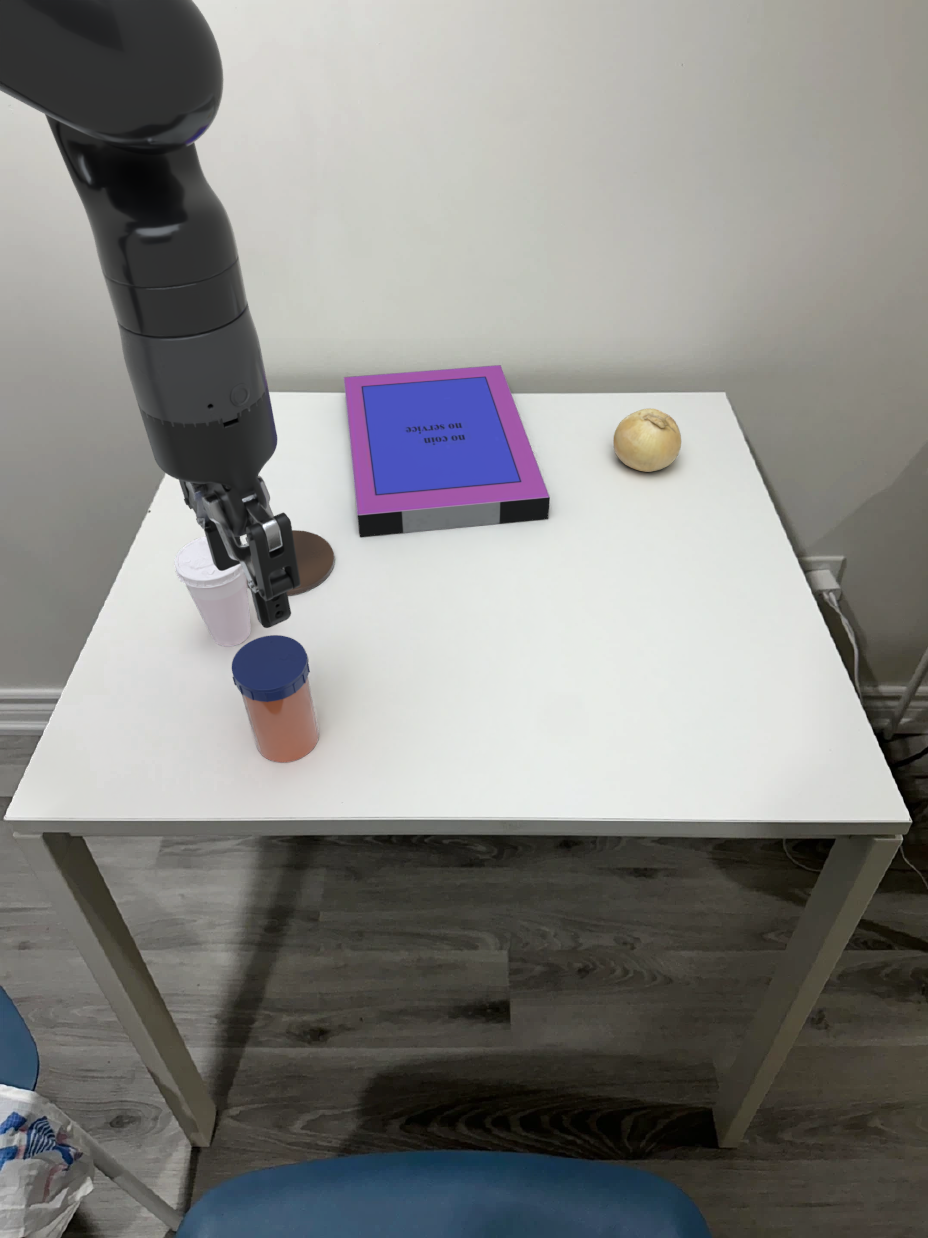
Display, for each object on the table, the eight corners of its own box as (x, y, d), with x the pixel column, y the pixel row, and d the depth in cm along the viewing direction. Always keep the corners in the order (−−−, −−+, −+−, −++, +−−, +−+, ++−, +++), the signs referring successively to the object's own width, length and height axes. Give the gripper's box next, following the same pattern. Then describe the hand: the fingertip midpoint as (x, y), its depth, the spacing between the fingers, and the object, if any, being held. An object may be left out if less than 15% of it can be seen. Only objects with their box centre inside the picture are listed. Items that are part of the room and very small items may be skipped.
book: (500, 365, 114) (549, 497, 93) (500, 385, 116) (548, 519, 95) (343, 377, 112) (357, 515, 91) (345, 397, 114) (359, 537, 93)
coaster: (224, 590, 87) (223, 586, 86) (257, 530, 94) (256, 525, 93) (319, 601, 86) (319, 596, 85) (345, 539, 93) (344, 534, 92)
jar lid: (223, 697, 66) (219, 685, 65) (249, 643, 70) (245, 631, 69) (297, 706, 65) (294, 694, 64) (318, 651, 69) (316, 639, 68)
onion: (600, 468, 102) (606, 416, 97) (625, 436, 107) (632, 385, 102) (663, 487, 99) (674, 434, 94) (686, 454, 104) (697, 402, 99)
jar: (247, 758, 72) (225, 686, 65) (267, 709, 76) (248, 637, 69) (308, 766, 71) (293, 695, 65) (326, 716, 75) (313, 644, 68)
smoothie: (278, 625, 83) (252, 510, 73) (232, 666, 79) (199, 551, 69) (229, 601, 86) (198, 487, 76) (183, 640, 82) (144, 525, 72)
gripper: (96, 355, 52) (164, 560, 64) (189, 462, 44) (248, 675, 56) (210, 322, 55) (255, 523, 67) (317, 416, 47) (347, 627, 59)
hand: (252, 591), depth 61 cm, fingers open, 7 cm apart
